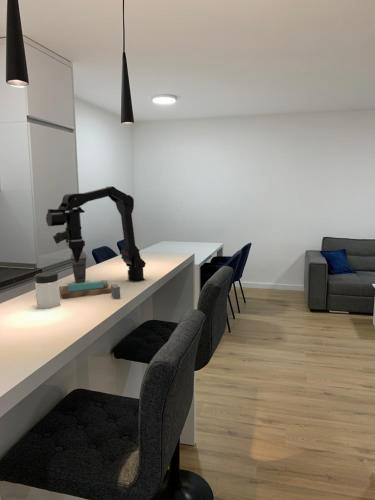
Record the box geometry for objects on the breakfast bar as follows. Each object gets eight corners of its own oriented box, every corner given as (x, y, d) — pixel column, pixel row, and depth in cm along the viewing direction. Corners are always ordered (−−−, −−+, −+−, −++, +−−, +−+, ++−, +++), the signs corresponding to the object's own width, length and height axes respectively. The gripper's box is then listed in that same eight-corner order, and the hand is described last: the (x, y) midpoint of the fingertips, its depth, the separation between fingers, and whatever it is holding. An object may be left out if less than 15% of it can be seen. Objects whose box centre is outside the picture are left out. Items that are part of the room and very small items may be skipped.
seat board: (106, 285, 179) (106, 281, 179) (111, 292, 166) (111, 288, 166) (59, 291, 172) (59, 286, 172) (61, 299, 159) (61, 294, 159)
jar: (62, 306, 149) (59, 274, 147) (38, 310, 145) (35, 277, 143) (58, 300, 157) (55, 270, 155) (36, 304, 153) (33, 273, 151)
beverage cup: (84, 284, 182) (80, 241, 179) (69, 284, 184) (66, 241, 181) (91, 281, 189) (88, 239, 186) (76, 280, 191) (73, 239, 188)
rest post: (117, 294, 163) (116, 283, 162) (120, 298, 157) (119, 287, 157) (111, 295, 162) (110, 284, 161) (114, 299, 156) (113, 287, 156)
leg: (107, 285, 169) (106, 279, 168) (108, 287, 166) (108, 281, 166) (68, 290, 163) (67, 284, 163) (68, 291, 161) (68, 285, 160)
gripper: (52, 224, 172) (55, 259, 174) (54, 227, 154) (57, 267, 157) (78, 222, 175) (81, 257, 178) (83, 225, 158) (86, 264, 161)
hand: (76, 261), depth 168 cm, fingers open, 4 cm apart
